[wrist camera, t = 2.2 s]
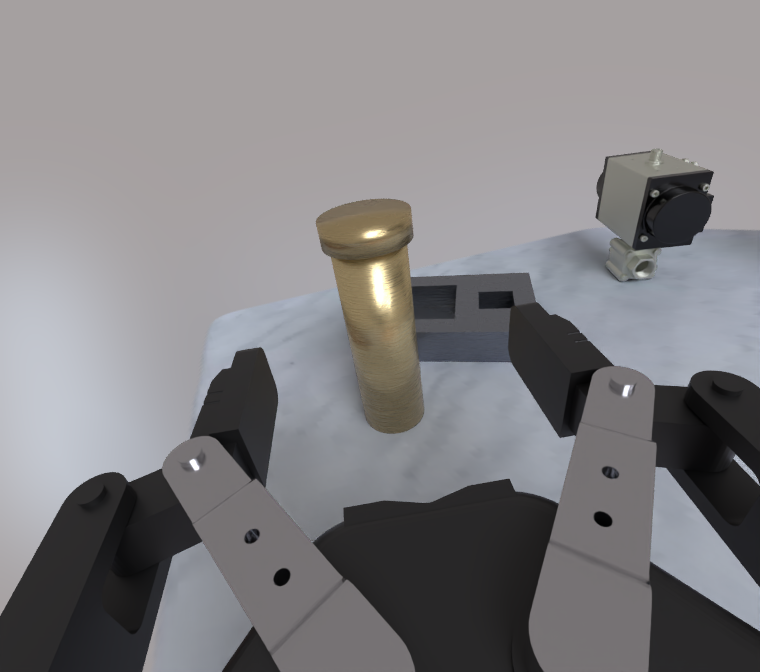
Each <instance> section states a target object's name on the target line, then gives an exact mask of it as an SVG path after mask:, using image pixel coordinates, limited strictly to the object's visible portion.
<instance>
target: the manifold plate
mask: <svg viewBox="0 0 760 672" xmlns="http://www.w3.org/2000/svg"><path fill="white" fill-rule="evenodd" d="M410 278H411V287H412V297H413V307H414V316H415V326H416V336H417V346H418V355H419V361H470V362H511V360H510V356H509V351H508V339H509V322H510V310H511V308H512V306H515V305H521V304H527V303H533V302H536V300H535V296H534V292H533V288H532V284H531V280H530V276H529V273H509V274H483V275H457V276H431V277H410Z"/></svg>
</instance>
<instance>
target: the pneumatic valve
mask: <svg viewBox="0 0 760 672" xmlns="http://www.w3.org/2000/svg"><path fill="white" fill-rule="evenodd" d="M713 173H714V172H713V171H710V170H708V169H705V168H702V167H699V166H698V163H697V162H691V163H689V160H688V159H678V158H675V157H672V156H669V155H667V154H664V153H663V150H660V149H652V150H651V151H647V152H639V153H631V154H624V155H616V156H609V157H606V159H605V165H604V170H603V173H602V174H601V176H600V177H599V179H598V182H597V194H598V196H599V200H598V206H597V212H596V218H597V219H598V220H599V221H600V222H602V223H603V224H604V225H605V226H606V227H608V228H609V229H610V230H611V231H613V232H614V233H615V234H616V235H617V236H619V237H620V238H621V239H619V238H614V239H612V240H611V241H610V246H611V247H610V249H609V251H610V253H609V260H608V261H607V262H606V267H607V268H608V269H609V270H610V272H611V273H612V274H613V275H614V276H615V277H616V278H617V279H618V280H619V281H621V282H623V281H627V280H628V279H651V278H653V277H654V276H655V271H656V269H657V264H656V262H657V256H658V255H660V253H661V248H664V247H673V246H683V245H690V244H691V243H692V240H693V237H694V236H695V235H696V234H697V233H698V232H702V231H703V228H704V226H705V224H706V223H707V221H708V219H709V217H710V214H711V204H712V201H713V198H714V196H713V195H711V194H708V193H707V192H708V190H709V188H710V182H711V179H712V176H713Z"/></svg>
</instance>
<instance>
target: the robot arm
mask: <svg viewBox="0 0 760 672" xmlns="http://www.w3.org/2000/svg"><path fill="white" fill-rule="evenodd" d="M508 351H509V356H510V360H511V362H512V364H513V366H514V368H515V369H516V371H517V372H518V374H519V375H520V377H521V378H522V380H523V381H524V383H525V385H526V386H527V388H528V389H529V391H530V392H531V394H532V395H533V397H534V399H535V400H536V402H537V403H538V405H539V406H540V408H541V409H542V411H543V412H544V414H545V416H546V417H547V419H548V420H549V422H550V423H551V425H552V426H553V428H554V430H555V431H556V433H557V434H558V436H559V437H560V438H562V437H567V436H573V435H575V436H576V439H575V443H574V447H573V451H572V455H571V459H570V462H569V466H568V470H567V474H566V478H565V482H564V486H563V490H562V494H561V498H560V502H559V504H558V503H556V502H554V501H552V500H549V499H547V498H544V497H541V496H538V495H534V494H530V493H524V492H515V490H514V488H513V486H512V483H511V481H510V479H504V480H499V481H493V482H487V483H482V484H476V485H470V486H467V487H465V488H463V489H460V490H458V491H456V492H454V493H451V494H449V495H447V496H445V497H442V498H440V499H438V500H436V501H433V502H431V503H415V502H398V501H380V502H374V503H369V504H363V505H357V506H352V507H346V508H343V509H344V522H342V523H340V524H338V525H336V526H334V527H332V528H331V529H329V530H328V531H326V532H325V533H324V534H322V535H321V536H320V537H318V538H317V539H316V540H315V541H314V542H313V543H312V542H311V541H310V539H309V538H308V537H307V536H306V535H305V534H304V533H303V531H302V530H301V529H300V528H299V527H298V526H297V525H296V523H295V522H294V521H293V520H292V519H291V518H290V516H289V515H288V514H287V513H286V512H285V511H284V510H283V508H282V507H281V506H280V505H279V504H278V503H277V501H276V500H275V499H274V498H273V497H272V496H271V495H270V493H269V492H268V491H267V490H266V489H265V486H266V479H267V472H268V466H269V459H270V452H271V446H272V439H273V432H274V426H275V419H276V413H277V406H278V393H277V388H276V384H275V381H274V378H273V375H272V373H271V370H270V367H269V364H268V361H267V358H266V355H265V353H264V351H263V349H262V348H261V347H259V348H253V349H247V350H241V351H237V352H236V354H235V357H234V360H233V363H232V366H231V368H228V369H222V370H221V372H220V373H219V374H218V375H217V376H216V377H215V378H214V379H213V380H212V382H211V384H210V387H209V390H208V392H207V396H206V398H205V400H204V405H203V406H202V408H201V411H200V413H199V416H198V419H197V421H196V424H195V427H194V429H193V432H192V435H191V437H190V440H187V441H185V442H183V443H182V444H180V445H179V446H177V447H176V448H175V449H174V450H173V451H172V452H171V453H170V454H169V455H168V456H167V457H166V459H165V461H164V463H163V467H162V469H159V470H157V471H155V472H153V473H150V474H148V475H146V476H143V477H141V478H138V479H136V480H134V481H131V482H128V481H127V480H126V478H125V477H124V476H123V475H122V474H120V473H116V472H110V473H104V474H101V475H98V476H95V477H93V478H91V479H89V480H88V481H86V482H84V483H83V484H81V485H80V486H79V487H77V488H76V489H75V490H74V491H73V492H72V493H71V494H70V495H69V496H68V497H67V498H66V500H65V501H64V503H63V504H62V506H61V508H60V510H59V512H58V513H57V515H56V517H55V519H54V520H53V522H52V524H51V526H50V528H49V529H48V531H47V533H46V535H45V537H44V539H43V540H42V542H41V544H40V546H39V547H38V549H37V551H36V553H35V555H34V556H33V558H32V560H31V562H30V564H29V565H28V567H27V569H26V571H25V573H24V574H23V577H22V578H21V580H20V582H19V583H18V585H17V587H16V589H15V591H14V592H13V594H12V596H11V598H10V600H9V601H8V603H7V605H6V607H5V609H4V610H3V612H2V614H1V616H0V672H142V670H143V666H144V662H145V658H146V654H147V651H148V647H149V643H150V640H151V636H152V632H153V628H154V624H155V621H156V617H157V613H158V609H159V606H160V602H161V598H162V594H163V590H164V587H165V583H166V579H167V575H168V571H169V568H170V564H171V560H172V556H173V555H175V554H177V553H179V552H181V551H184V550H186V549H188V548H190V547H192V546H194V545H196V544H198V543H200V542H202V541H203V543H204V544H205V546H206V548H207V549H208V551H209V553H210V554H211V556H212V558H213V559H214V561H215V563H216V564H217V566H218V568H219V569H220V571H221V573H222V574H223V576H224V578H225V579H226V581H227V583H228V584H229V586H230V588H231V589H232V591H233V593H234V594H235V596H236V598H237V599H238V601H239V602H240V604H241V606H242V607H243V609H244V611H245V612H246V614H247V616H248V617H249V619H250V621H251V622H252V624H253V627H252V628H251V630H250V631H249V633H248V634H247V636H246V637H245V639H244V640H243V642H242V643H241V644H240V646H239V647H238V649H237V650H236V652H235V653H234V655H233V656H232V658H231V659H230V660H229V662H228V663H227V665H226V666H225V668H224V669H223V671H222V672H760V631H758V630H757V629H755V628H753V627H752V626H750V625H749V624H747V623H746V622H744V621H742V620H741V619H739V618H738V617H736V616H735V615H733V614H731V613H730V612H728V611H727V610H725V609H724V608H722V607H721V606H719V605H717V604H716V603H714V602H713V601H711V600H710V599H708V598H706V597H705V596H703V595H702V594H700V593H699V592H697V591H696V590H694V589H692V588H691V587H689V586H688V585H686V584H685V583H683V582H681V581H680V580H678V579H677V578H675V577H674V576H672V575H670V574H669V573H667V572H666V571H664V570H663V569H661V568H660V567H658V566H656V565H655V564H653V563H652V562H650V550H651V533H652V516H653V499H654V483H655V467H663V468H667V470H668V471H669V472H670V473H671V475H672V476H673V477H674V478H675V480H676V481H677V482H678V484H679V485H680V486H681V487H682V489H683V490H684V491H685V492H686V494H687V495H688V496H689V498H690V499H691V500H692V501H693V503H694V504H695V505H696V506H697V508H698V509H699V510H700V512H701V513H702V514H703V515H704V517H705V518H706V519H707V521H708V522H709V523H710V524H711V526H712V527H713V528H714V529H715V531H716V532H717V533H718V535H719V536H720V537H721V538H722V540H723V541H724V542H725V543H726V545H727V546H728V547H729V549H730V550H731V551H732V552H733V554H734V555H735V556H736V557H737V559H738V560H739V561H740V563H741V564H742V565H743V566H744V568H745V569H746V570H747V572H748V573H749V574H750V575H751V577H752V578H753V579H754V580H755V582H756V583H757V584H758V586H759V587H760V486H759V485H758V484H757V483H756V482H755V481H754V480H753V479H752V478H751V477H750V476H749V475H748V474H747V473H746V472H745V471H744V470H743V469H742V467H741V466H740V465H739V464H738V463H737V462H736V461H735V460H734V459H733V458H734V456H735V454H736V455H737V456H738V457H739V458H740V459H741V460H742V461H743V462H744V463H745V464H746V465H747V466H748V467H749V468H750V469H751V470H752V471H753V472H754V474H755V475H756V477H757V478H758V481H759V484H760V388H759V387H757V386H756V385H755V384H753V383H752V382H750V381H748V380H747V379H745V378H742V377H740V376H737V375H735V374H731V373H727V372H722V371H702V372H699V373H696V374H695V375H693V376H692V378H691V380H690V383H689V385H688V387H680V386H662V385H654V384H653V383H652V381H651V380H650V379H649V378H648V377H646V376H645V375H643V374H642V373H640V372H638V371H636V370H633V369H630V368H626V367H619V366H614V365H613V364H612V363H611V362H610V361H609V360H608V359H607V358H606V357H605V356H604V355H603V354H602V353H601V352H600V351H599V350H598V349H597V348H596V347H595V346H594V345H593V344H592V343H591V342H590V341H588V340H587V338H586V337H585V336H584V335H583V334H582V333H580V331H579V330H578V329H577V328H576V327H575V326H574V325H573V324H572V323H571V322H570V321H568V320H566V319H564V318H562V317H560V316H558V315H556V314H555V315H549V314H548V313H547V312H546V311H545V310H544V309H543V308H542V306H541V305H540V304H539V303H537V302H533V303H527V304H521V305H515V306H512V308H511V310H510V322H509V339H508Z"/></svg>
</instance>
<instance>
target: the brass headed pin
mask: <svg viewBox="0 0 760 672" xmlns="http://www.w3.org/2000/svg"><path fill="white" fill-rule="evenodd" d="M316 226H317V230H318V234H319V239H320V243H321V247H322V251H323V252H324V253H325V254H326V255H328V256H330V257H331V259H332V264H333V269H334V273H335V278H336V282H337V287H338V291H339V296H340V301H341V305H342V310H343V314H344V319H345V323H346V328H347V333H348V337H349V342H350V346H351V351H352V356H353V360H354V365H355V369H356V374H357V378H358V383H359V388H360V392H361V397H362V401H363V406H364V410H365V415H366V419H367V421H368V423H369V424H370V426H371V427H373V428H374V429H375V430H378V431H380V432H383V433H401V432H404V431H407V430H409V429H411V428H413V427H414V426H416V425H417V424H418V423H419V422H420V420H421V419H422V417H423V414H424V404H423V394H422V385H421V375H420V365H419V355H418V346H417V336H416V326H415V316H414V307H413V297H412V287H411V278H410V268H409V258H408V249H407V244H408V243H410V241H411V240H412V238H413V225H412V215H411V207H410V205H409V204H408V203H406V202H403V201H400V200H395V199H370V200H362V201H356V202H352V203H348V204H344V205H341V206H338V207H335V208H332V209H330V210H328V211H326V212H325V213H323V214H321V215H320V216H319V217H318V218H317V220H316Z"/></svg>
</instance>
